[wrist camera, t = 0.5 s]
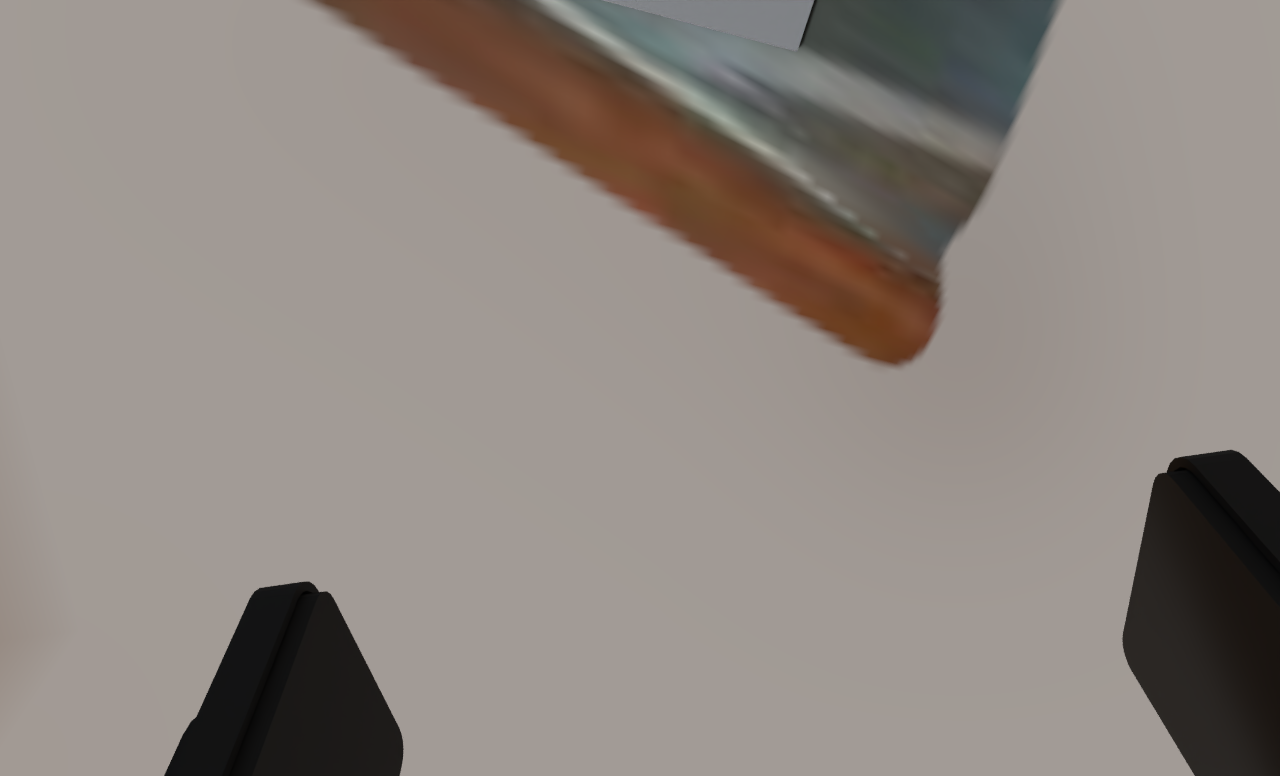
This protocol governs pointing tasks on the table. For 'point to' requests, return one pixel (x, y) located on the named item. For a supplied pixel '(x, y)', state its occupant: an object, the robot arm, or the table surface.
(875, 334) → the table surface
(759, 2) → the mat
